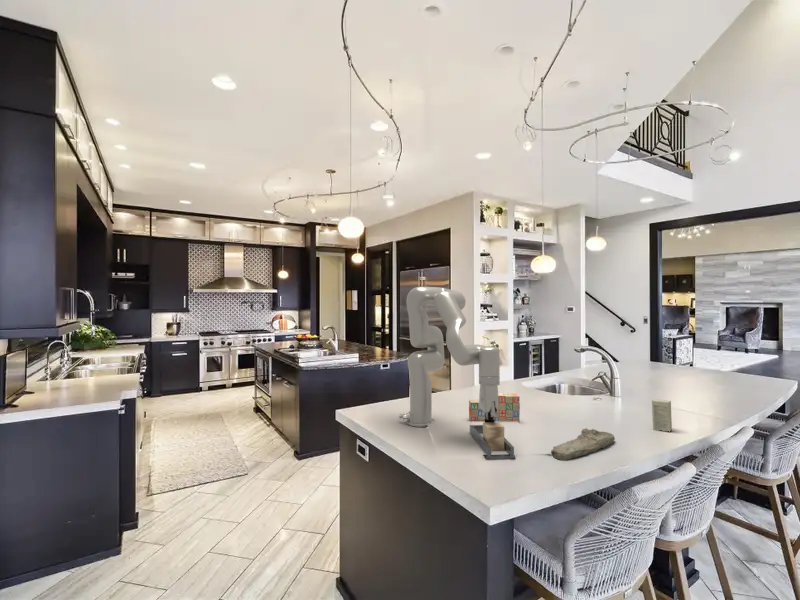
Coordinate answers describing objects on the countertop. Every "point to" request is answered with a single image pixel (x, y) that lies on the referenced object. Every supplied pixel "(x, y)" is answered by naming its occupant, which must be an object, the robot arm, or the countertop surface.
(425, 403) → the robot arm
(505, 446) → the chute
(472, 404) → the stack of blocks
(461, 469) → the countertop surface
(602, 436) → the long grey stone
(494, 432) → the block
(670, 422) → the skincare box
